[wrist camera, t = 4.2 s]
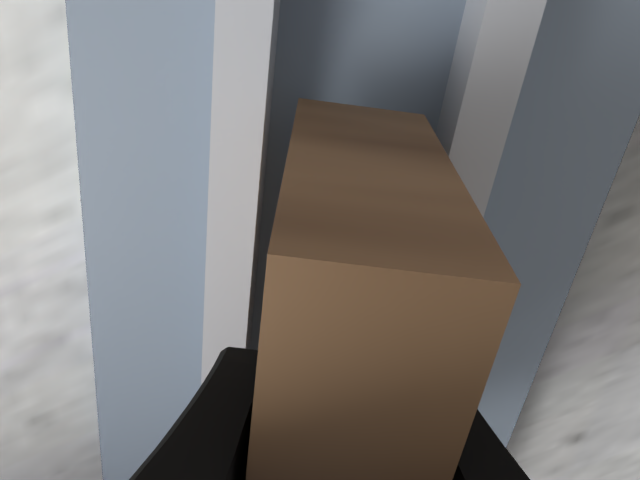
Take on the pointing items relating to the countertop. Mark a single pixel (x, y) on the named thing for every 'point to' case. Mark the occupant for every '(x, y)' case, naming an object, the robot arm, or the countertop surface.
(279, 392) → the door slab
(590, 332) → the countertop surface
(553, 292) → the floor track
